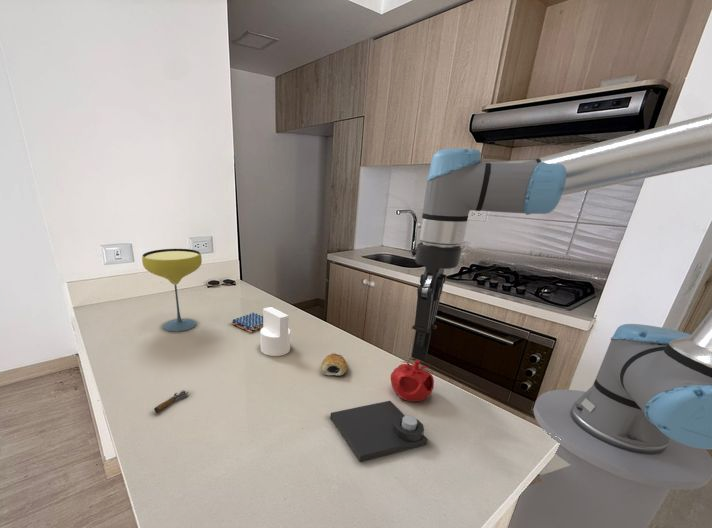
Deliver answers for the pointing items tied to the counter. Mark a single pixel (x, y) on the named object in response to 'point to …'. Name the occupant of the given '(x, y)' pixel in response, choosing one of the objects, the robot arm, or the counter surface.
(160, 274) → the cocktail glass
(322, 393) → the counter surface
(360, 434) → the scale
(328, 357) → the pastry
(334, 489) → the counter surface
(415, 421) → the button
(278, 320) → the base with upright slab
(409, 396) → the pomegranate
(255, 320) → the woven mat
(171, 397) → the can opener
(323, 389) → the counter surface
